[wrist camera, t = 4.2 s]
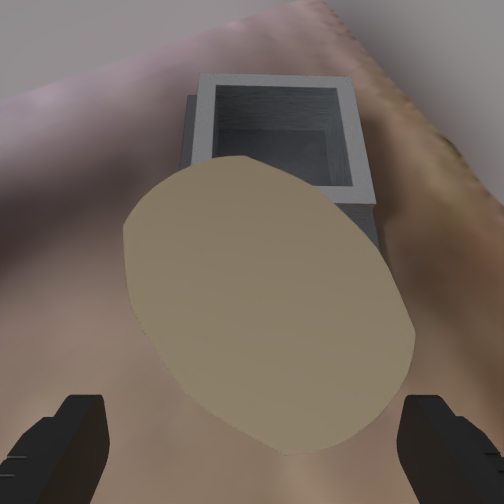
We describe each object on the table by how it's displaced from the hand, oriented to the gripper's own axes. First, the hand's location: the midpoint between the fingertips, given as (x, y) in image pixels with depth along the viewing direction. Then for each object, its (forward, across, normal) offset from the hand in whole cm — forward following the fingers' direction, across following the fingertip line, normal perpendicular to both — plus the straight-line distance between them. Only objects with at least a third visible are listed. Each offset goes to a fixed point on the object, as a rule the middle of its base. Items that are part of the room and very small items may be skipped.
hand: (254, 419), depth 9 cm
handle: (+10, 0, +6) cm, 12 cm away
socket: (+20, -2, -4) cm, 20 cm away
